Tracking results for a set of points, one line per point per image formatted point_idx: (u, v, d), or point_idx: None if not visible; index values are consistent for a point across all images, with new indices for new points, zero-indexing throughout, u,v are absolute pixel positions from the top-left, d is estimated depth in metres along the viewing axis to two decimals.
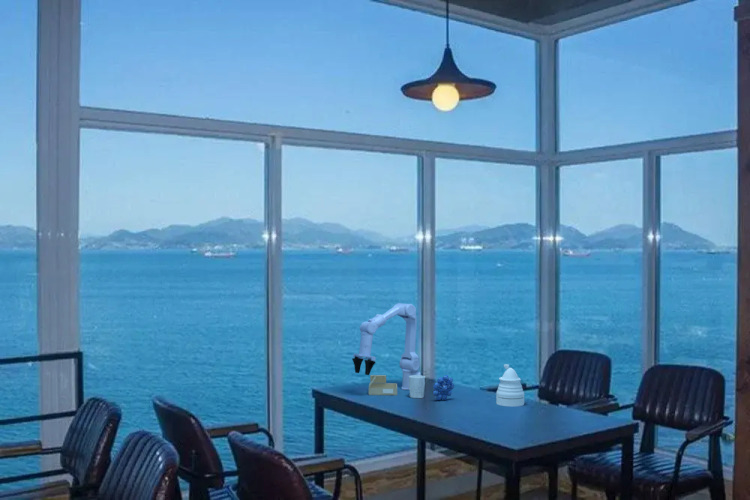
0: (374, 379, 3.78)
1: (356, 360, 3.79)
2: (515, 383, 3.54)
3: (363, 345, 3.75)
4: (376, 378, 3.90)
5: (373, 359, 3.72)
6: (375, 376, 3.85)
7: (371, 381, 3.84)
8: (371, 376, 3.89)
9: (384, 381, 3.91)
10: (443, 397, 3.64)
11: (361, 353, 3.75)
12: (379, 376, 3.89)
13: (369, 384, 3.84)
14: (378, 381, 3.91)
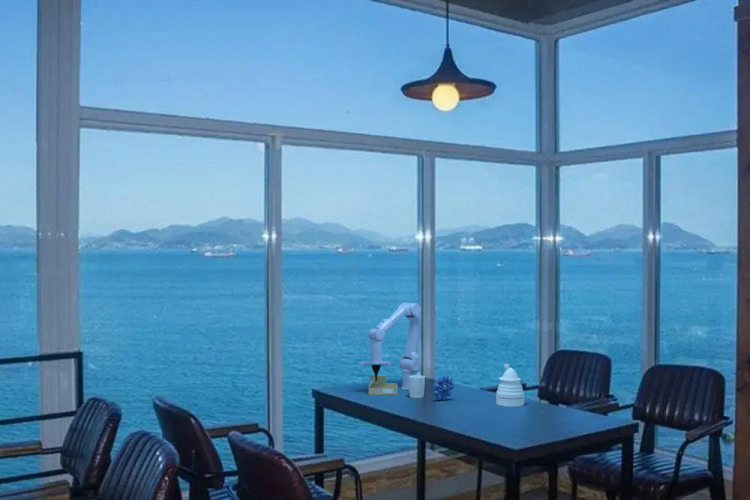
0: (374, 379, 3.78)
1: None
2: (515, 383, 3.54)
3: (373, 353, 3.79)
4: None
5: (390, 364, 3.82)
6: None
7: (371, 381, 3.84)
8: (371, 376, 3.89)
9: (384, 381, 3.91)
10: (443, 397, 3.64)
11: (377, 361, 3.79)
12: (379, 376, 3.89)
13: (369, 384, 3.84)
14: (378, 381, 3.91)
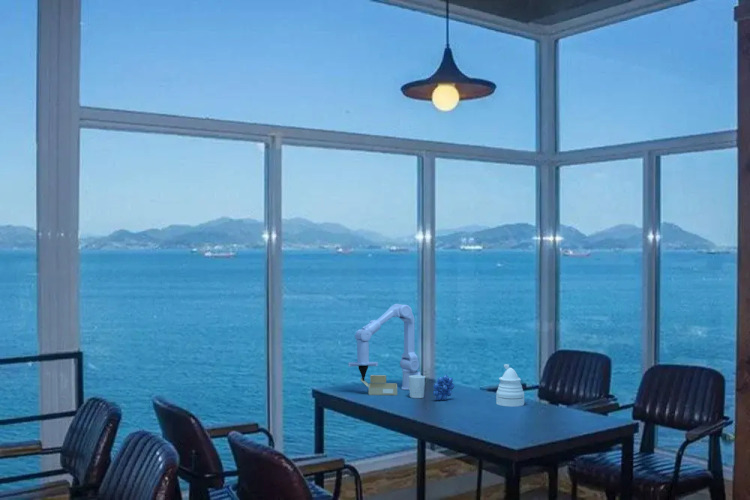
0: (361, 380, 3.78)
1: None
2: (515, 383, 3.54)
3: (359, 353, 3.80)
4: (376, 378, 3.90)
5: (377, 365, 3.82)
6: (361, 377, 3.85)
7: (365, 382, 3.84)
8: (371, 376, 3.89)
9: (384, 381, 3.91)
10: (443, 397, 3.64)
11: (364, 361, 3.79)
12: (379, 376, 3.89)
13: (367, 385, 3.84)
14: (378, 381, 3.91)
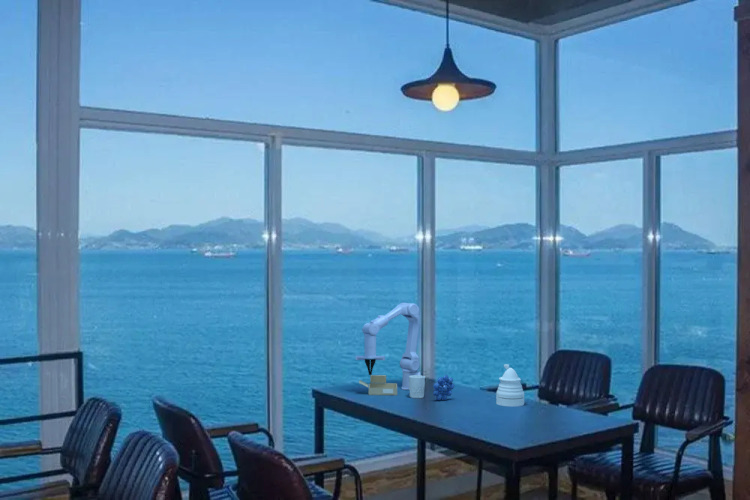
0: None
1: (369, 363, 3.81)
2: (515, 383, 3.54)
3: (367, 347, 3.80)
4: (376, 378, 3.90)
5: (384, 358, 3.82)
6: (359, 380, 3.85)
7: (364, 383, 3.84)
8: (371, 376, 3.89)
9: (384, 381, 3.91)
10: (443, 397, 3.64)
11: (371, 355, 3.79)
12: (379, 376, 3.89)
13: (367, 385, 3.84)
14: (378, 381, 3.91)
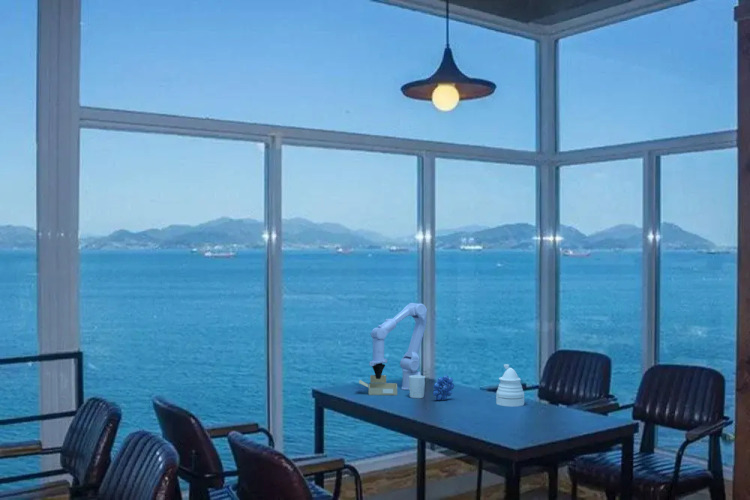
0: None
1: None
2: (515, 383, 3.54)
3: (375, 351, 3.85)
4: None
5: None
6: (359, 380, 3.85)
7: (364, 383, 3.84)
8: (371, 376, 3.89)
9: (384, 381, 3.91)
10: (443, 397, 3.64)
11: (383, 359, 3.86)
12: None
13: (367, 385, 3.84)
14: (378, 381, 3.91)
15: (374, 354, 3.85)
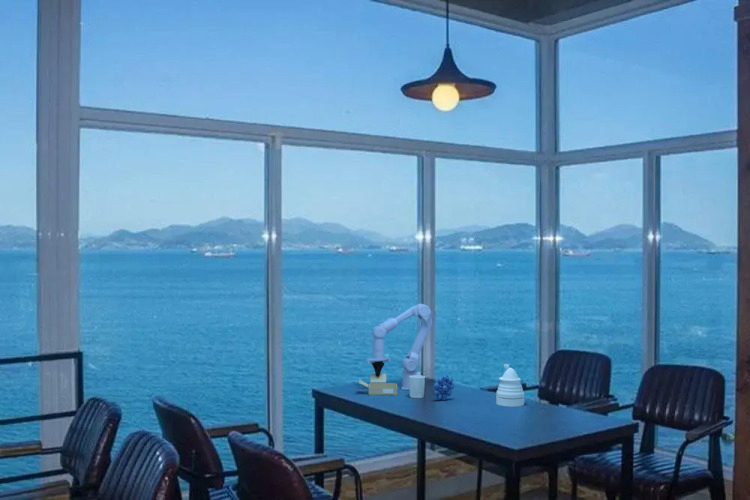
0: None
1: None
2: (515, 383, 3.54)
3: (373, 349, 3.92)
4: (376, 377, 3.94)
5: None
6: (359, 380, 3.85)
7: (364, 383, 3.84)
8: (371, 374, 3.95)
9: (384, 380, 3.92)
10: (443, 397, 3.64)
11: (382, 357, 3.92)
12: None
13: (367, 385, 3.84)
14: (378, 380, 3.92)
15: (373, 352, 3.93)
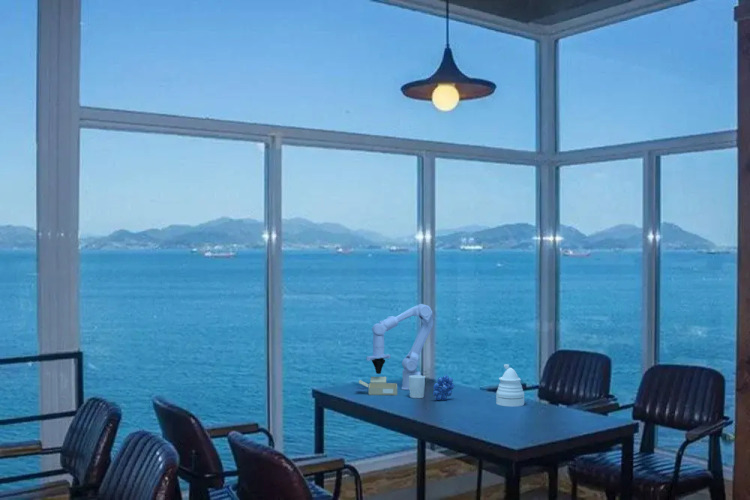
0: None
1: None
2: (515, 383, 3.54)
3: (374, 346, 3.92)
4: (376, 379, 3.94)
5: None
6: (359, 380, 3.85)
7: (364, 383, 3.84)
8: (371, 377, 3.96)
9: (384, 381, 3.93)
10: (443, 397, 3.64)
11: (382, 354, 3.92)
12: (379, 377, 3.96)
13: (367, 385, 3.84)
14: (378, 381, 3.93)
15: (373, 349, 3.92)
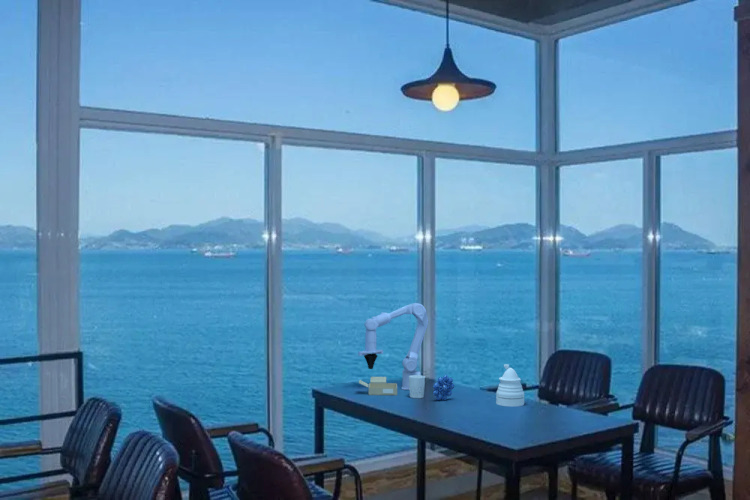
0: None
1: None
2: (515, 383, 3.54)
3: (366, 342, 3.92)
4: (376, 379, 3.94)
5: None
6: (359, 380, 3.85)
7: (364, 383, 3.84)
8: (371, 377, 3.96)
9: (384, 381, 3.93)
10: (443, 397, 3.64)
11: (375, 350, 3.92)
12: (379, 377, 3.96)
13: (367, 385, 3.84)
14: (378, 381, 3.93)
15: (365, 344, 3.93)
